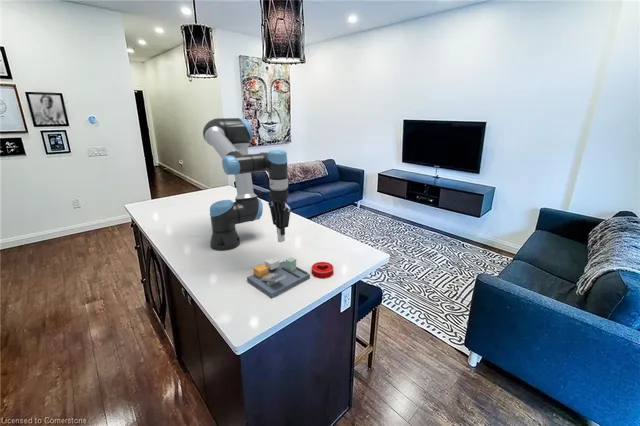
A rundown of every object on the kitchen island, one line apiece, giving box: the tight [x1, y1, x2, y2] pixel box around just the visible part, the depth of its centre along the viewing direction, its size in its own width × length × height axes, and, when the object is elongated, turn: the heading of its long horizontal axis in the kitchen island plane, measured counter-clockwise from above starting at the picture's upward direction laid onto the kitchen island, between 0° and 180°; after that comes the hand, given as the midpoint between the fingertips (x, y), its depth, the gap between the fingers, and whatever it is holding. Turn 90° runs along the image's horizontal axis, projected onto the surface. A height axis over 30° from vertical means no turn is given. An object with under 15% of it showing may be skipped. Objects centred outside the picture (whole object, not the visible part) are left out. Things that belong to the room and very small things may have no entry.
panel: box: [246, 260, 311, 299], centre depth 123 cm, size 17×20×4 cm
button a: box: [252, 264, 268, 278], centre depth 123 cm, size 4×4×3 cm
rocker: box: [261, 273, 286, 282], centre depth 117 cm, size 10×5×1 cm, turn 45°
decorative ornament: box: [311, 261, 335, 279], centre depth 129 cm, size 10×10×3 cm
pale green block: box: [285, 256, 297, 271], centre depth 127 cm, size 3×3×5 cm
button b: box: [264, 257, 280, 270], centre depth 126 cm, size 4×4×3 cm
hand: (281, 241), depth 128 cm, fingers closed
